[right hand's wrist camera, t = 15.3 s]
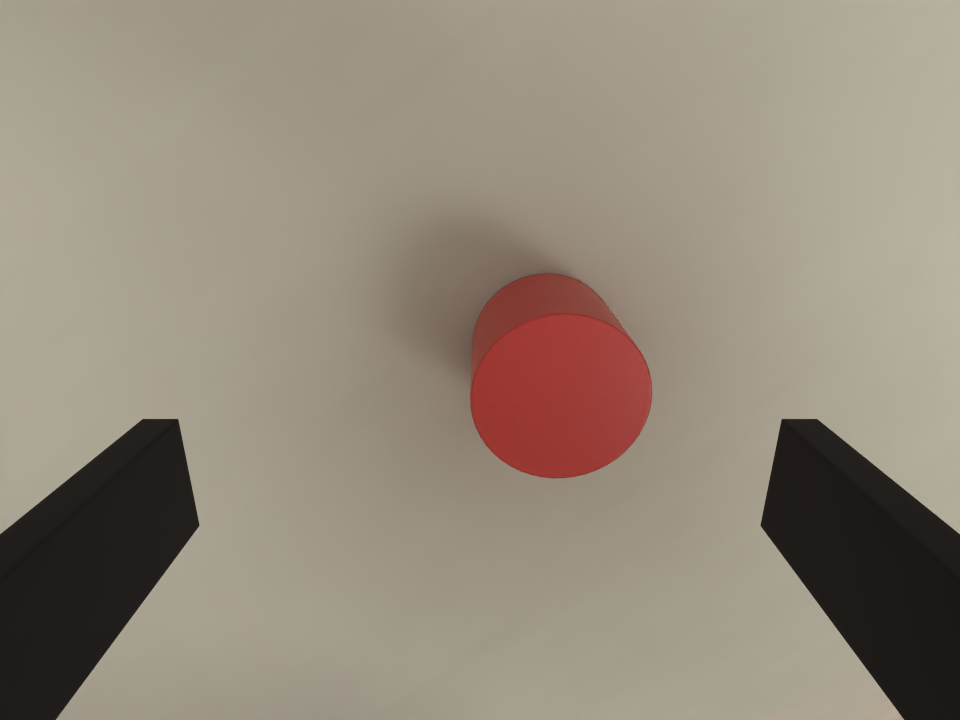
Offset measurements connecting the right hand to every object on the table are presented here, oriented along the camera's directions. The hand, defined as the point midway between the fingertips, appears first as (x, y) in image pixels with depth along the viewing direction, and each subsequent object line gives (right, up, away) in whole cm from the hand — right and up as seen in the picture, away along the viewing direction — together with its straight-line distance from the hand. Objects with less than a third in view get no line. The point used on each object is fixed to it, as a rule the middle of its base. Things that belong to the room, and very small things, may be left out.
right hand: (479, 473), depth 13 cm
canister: (+3, +3, +18) cm, 18 cm away
